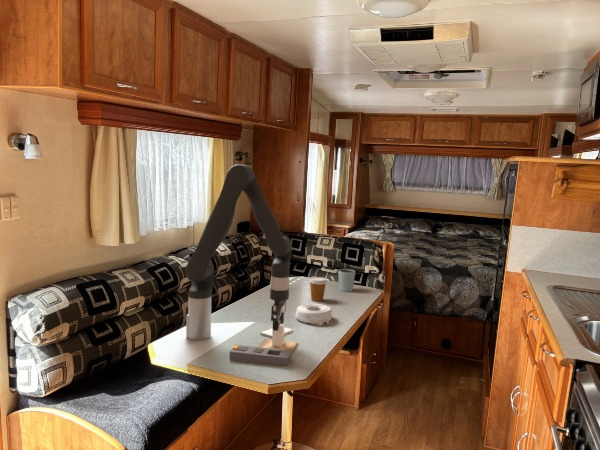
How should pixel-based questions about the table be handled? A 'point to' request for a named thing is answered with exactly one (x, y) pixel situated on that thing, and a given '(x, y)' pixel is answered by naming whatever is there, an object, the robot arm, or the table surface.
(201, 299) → the robot arm
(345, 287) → the pale teal cup
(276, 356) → the power strip
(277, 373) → the table surface
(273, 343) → the charger
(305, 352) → the table surface
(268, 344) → the cork mat
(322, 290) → the disposable coffee cup
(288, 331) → the external hard drive
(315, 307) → the cable
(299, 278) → the table surface
